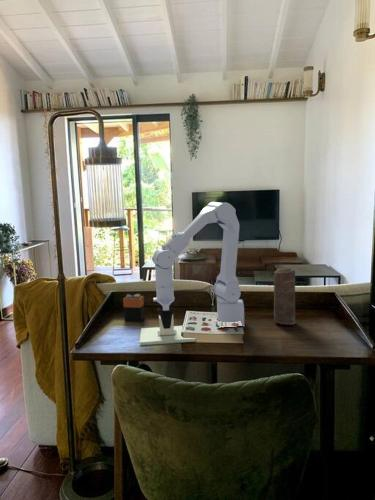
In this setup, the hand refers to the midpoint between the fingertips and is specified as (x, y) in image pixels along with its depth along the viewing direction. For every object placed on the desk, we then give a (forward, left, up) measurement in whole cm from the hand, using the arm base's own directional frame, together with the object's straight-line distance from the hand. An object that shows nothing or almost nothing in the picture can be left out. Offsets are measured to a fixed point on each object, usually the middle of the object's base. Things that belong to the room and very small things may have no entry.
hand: (166, 324), depth 130 cm
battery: (+12, -18, -5) cm, 22 cm away
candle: (-42, -4, -4) cm, 42 cm away
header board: (0, 0, -4) cm, 4 cm away
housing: (0, 0, -3) cm, 3 cm away
